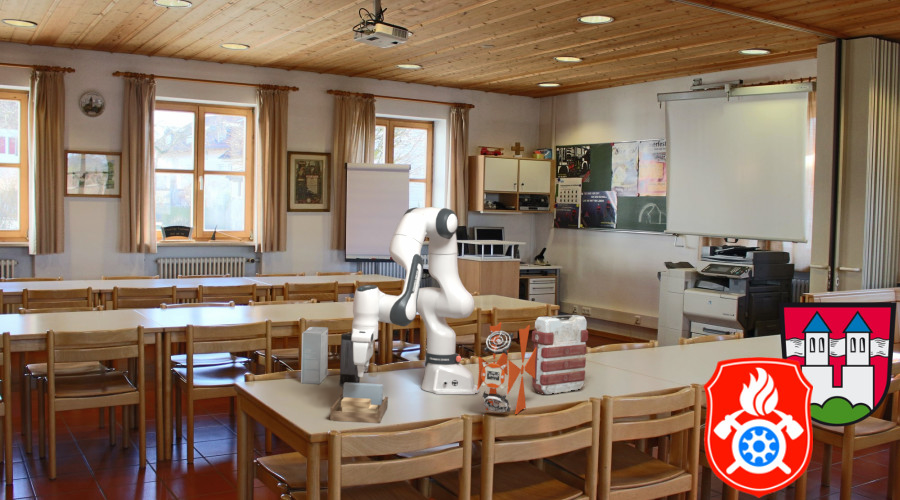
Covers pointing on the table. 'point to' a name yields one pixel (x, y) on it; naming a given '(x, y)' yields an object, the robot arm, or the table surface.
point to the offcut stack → (358, 405)
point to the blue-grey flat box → (364, 391)
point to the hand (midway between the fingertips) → (362, 373)
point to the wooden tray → (358, 413)
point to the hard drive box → (314, 355)
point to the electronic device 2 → (504, 370)
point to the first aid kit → (559, 353)
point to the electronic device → (347, 361)
